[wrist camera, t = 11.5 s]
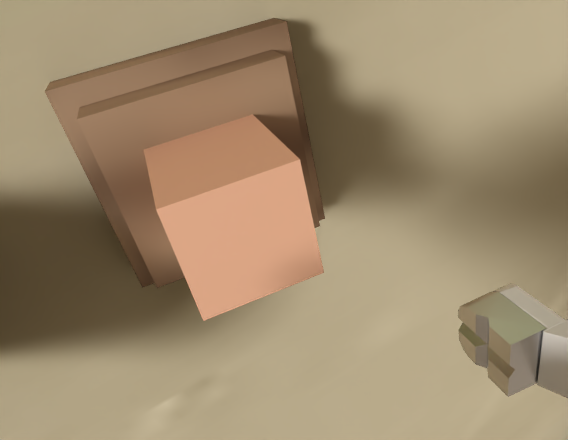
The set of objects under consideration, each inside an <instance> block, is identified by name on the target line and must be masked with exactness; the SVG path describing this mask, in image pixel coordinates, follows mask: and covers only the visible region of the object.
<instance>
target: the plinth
mask: <svg viewBox="0 0 568 440" xmlns="http://www.w3.org/2000/svg"><path fill="white" fill-rule="evenodd" d="M45 93H46V95H47V97H48V99H49V101H50V103H51V105H52V107H53V109H54V111H55V113H56V115H57V117H58V119H59V121H60V123H61V125H62V127H63V129H64V131H65V133H66V135H67V137H68V139H69V141H70V143H71V145H72V147H73V149H74V151H75V153H76V155H77V157H78V159H79V161H80V163H81V165H82V167H83V169H84V171H85V173H86V175H87V177H88V179H89V181H90V183H91V185H92V187H93V189H94V191H95V193H96V195H97V197H98V199H99V201H100V203H101V205H102V207H103V209H104V211H105V213H106V215H107V217H108V219H109V221H110V223H111V225H112V227H113V229H114V231H115V233H116V235H117V237H118V239H119V241H120V243H121V245H122V247H123V249H124V251H125V253H126V255H127V257H128V259H129V261H130V263H131V265H132V267H133V269H134V271H135V273H136V275H137V277H138V279H139V281H140V283H141V285H142V287H145V286H148V285H150V284H153V283H155V285H156V287H157V288H159V287H161V286H164V285H166V284H169V283H172V282H174V281H177V280H180V279H182V278H185V276H184V274H183V272H182V269H181V267H180V265H179V262H178V260H177V258H176V255H175V253H174V251H173V248H172V246H171V243H170V241H169V239H168V236H167V234H166V232H165V229H164V227H163V225H162V222H161V220H160V218H159V215H158V213H157V211H156V207H155V202H154V197H153V192H152V188H151V183H150V178H149V173H148V168H147V164H146V159H145V154H144V149H147V148H150V147H153V146H157V145H160V144H163V143H166V142H169V141H172V140H175V139H178V138H181V137H184V136H187V135H190V134H194V133H197V132H200V131H203V130H206V129H209V128H212V127H215V126H218V125H221V124H224V123H227V122H231V121H234V120H237V119H240V118H243V117H246V116H249V115H252V114H253V115H254V116H255V117H256V118H257V119H258V120H259V121H260V122H261V123H262V124H263V125H264V126H265V127H266V128H267V129H269V130H270V131H271V132H272V133H273V134H274V135H275V136H276V137H277V138H278V139H279V140H280V141H281V142H282V143H283V144H284V145H285V146H286V147H287V148H289V149H290V150H291V151H292V152H293V153H294V154H295V155H296V156H297V157H298V158H299V159H300V162H301V167H302V171H303V176H304V181H305V185H306V190H307V195H308V200H309V204H310V209H311V214H312V219H313V223H314V228H316V227H319V226H320V224H319V221H320V220H322V219H325V216H324V211H323V206H322V201H321V196H320V190H319V185H318V180H317V175H316V170H315V165H314V160H313V154H312V149H311V144H310V139H309V134H308V129H307V124H306V118H305V113H304V108H303V103H302V98H301V93H300V88H299V82H298V77H297V72H296V67H295V62H294V57H293V52H292V46H291V41H290V36H289V31H288V26H287V21H283V20H279V19H275V18H272V19H269V20H265V21H262V22H258V23H255V24H251V25H248V26H244V27H241V28H237V29H234V30H230V31H227V32H223V33H220V34H216V35H213V36H209V37H206V38H202V39H199V40H195V41H192V42H188V43H185V44H182V45H178V46H175V47H171V48H168V49H164V50H161V51H157V52H154V53H150V54H147V55H143V56H140V57H136V58H133V59H129V60H126V61H122V62H119V63H115V64H112V65H108V66H105V67H101V68H98V69H94V70H91V71H87V72H84V73H80V74H77V75H73V76H70V77H66V78H63V79H60V80H56V81H53V82H50V83H49V85H48V87H47V89H46V90H45Z"/></svg>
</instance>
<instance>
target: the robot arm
mask: <svg viewBox="0 0 568 440" xmlns="http://www.w3.org/2000/svg"><path fill="white" fill-rule="evenodd" d="M458 318H459V319H460V320H461V321H462V322H463V323H462V325H461V327H460V329H459V340H460V343H461V345H462V347H463V350H464V351H465V353H466V354H467V355H468V357H469V358H470V359H471V360H472V361H473V362H474V363H475V364H476V365H479V366H482V367H485V368H487V372H488V377H489V378H490V379H491V380H492V381H493V382H494V383H495V384H496V385H497V386H498V387H499V388H500V389H501V390H502V391H503V392H504V393H505V394H506V395H507V396H511V395H513V394H515V393H517V392H519V391H521V390H523V389H525V388H528V387H530V386H532V385H534V384H536V383H537V385H539V386H541V387H543V388H546V389H548V390H550V391H553V392H555V393H557V394H559V395H562V396H564V397H566V398H568V319H567V320H565V319H564V318H562V317H561V316H559V315H558V314H556V313H555V312H554V311H552V310H551V309H549V308H548V307H547V306H545V305H544V304H542V303H541V302H540V301H538V300H537V299H535V298H534V297H532V296H531V295H530V294H528V293H527V292H525V291H524V290H523V289H521V288H520V287H518V286H517V285H515V284H511V283H510V284H508V285H506V286H503V287H501V288H499V289H497V290H495V291H493V292H489V293H487V294H485V295H483V296H481V297H479V298H476V299H474V300H472V301H470V302H468V303H466V304H464V305H462V306H460V308H459V310H458Z"/></svg>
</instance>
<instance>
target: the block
mask: <svg viewBox="0 0 568 440" xmlns="http://www.w3.org/2000/svg"><path fill="white" fill-rule="evenodd" d="M144 154H145V159H146V164H147V168H148V173H149V178H150V183H151V188H152V192H153V197H154V202H155V207H156V211H157V213H158V215H159V218H160V220H161V222H162V225H163V227H164V229H165V232H166V234H167V236H168V239H169V241H170V243H171V246H172V248H173V251H174V253H175V255H176V258H177V260H178V262H179V265H180V267H181V269H182V272H183V274H184V276H185V279H186V281H187V283H188V286H189V288H190V290H191V293H192V295H193V297H194V300H195V302H196V305H197V307H198V309H199V312H200V314H201V316H202V319H203V321H204V320H207V319H209V318H212V317H214V316H217V315H219V314H222V313H224V312H227V311H229V310H232V309H234V308H237V307H239V306H242V305H244V304H247V303H249V302H252V301H254V300H257V299H259V298H262V297H264V296H267V295H269V294H272V293H274V292H277V291H279V290H282V289H284V288H287V287H289V286H292V285H294V284H297V283H299V282H302V281H304V280H307V279H309V278H311V277H314V276H316V275H319V274H321V273H324V270H323V266H322V261H321V256H320V252H319V247H318V242H317V237H316V233H315V228H314V223H313V219H312V214H311V209H310V204H309V200H308V195H307V190H306V185H305V181H304V176H303V171H302V167H301V162H300V159H299V158H298V157H297V156H296V155H295V154H294V153H293V152H292V151H291V150H290V149H289V148H287V147H286V146H285V145H284V144H283V143H282V142H281V141H280V140H279V139H278V138H277V137H276V136H275V135H274V134H273V133H272V132H271V131H270V130H269V129H267V128H266V127H265V126H264V125H263V124H262V123H261V122H260V121H259V120H258V119H257V118H256V117H255V116H254V115H253V114H252V115H249V116H246V117H243V118H240V119H237V120H234V121H231V122H227V123H224V124H221V125H218V126H215V127H212V128H209V129H206V130H203V131H200V132H197V133H194V134H190V135H187V136H184V137H181V138H178V139H175V140H172V141H169V142H166V143H163V144H160V145H157V146H153V147H150V148H147V149H144Z"/></svg>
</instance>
